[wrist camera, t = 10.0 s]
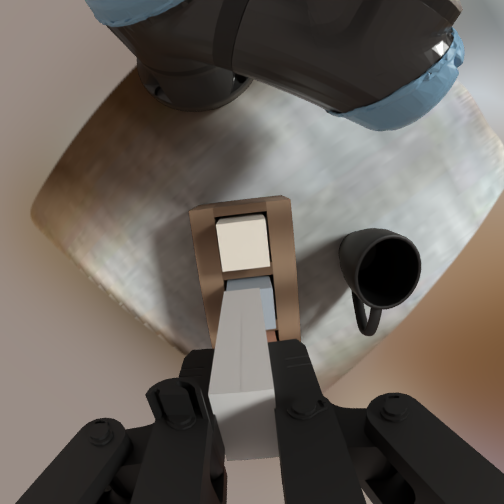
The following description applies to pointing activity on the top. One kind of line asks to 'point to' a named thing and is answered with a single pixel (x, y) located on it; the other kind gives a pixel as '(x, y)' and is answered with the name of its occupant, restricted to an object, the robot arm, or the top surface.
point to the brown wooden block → (278, 271)
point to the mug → (378, 272)
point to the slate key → (265, 292)
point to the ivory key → (243, 241)
